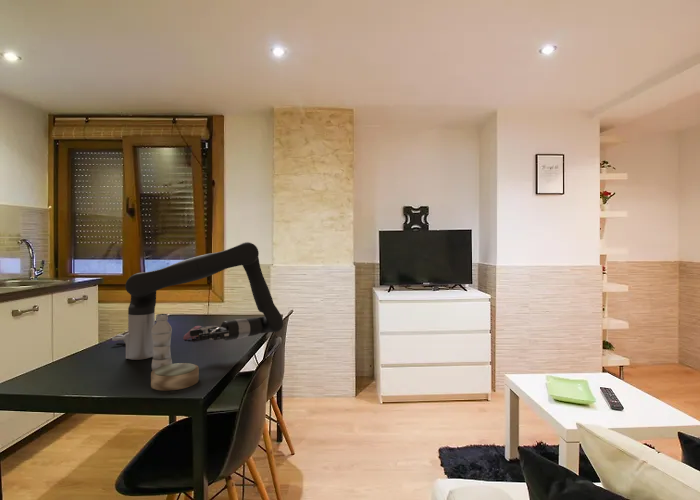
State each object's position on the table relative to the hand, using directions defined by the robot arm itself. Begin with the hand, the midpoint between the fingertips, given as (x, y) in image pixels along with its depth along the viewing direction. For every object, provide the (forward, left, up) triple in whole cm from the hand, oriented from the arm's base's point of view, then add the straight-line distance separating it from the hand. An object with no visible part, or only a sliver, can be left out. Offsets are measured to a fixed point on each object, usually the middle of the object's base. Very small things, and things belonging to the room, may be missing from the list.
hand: (194, 335), depth 143 cm
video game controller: (-15, +44, -11) cm, 48 cm away
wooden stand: (0, -18, -11) cm, 21 cm away
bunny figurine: (-39, +34, -11) cm, 53 cm away
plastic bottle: (-9, -7, -11) cm, 16 cm away
